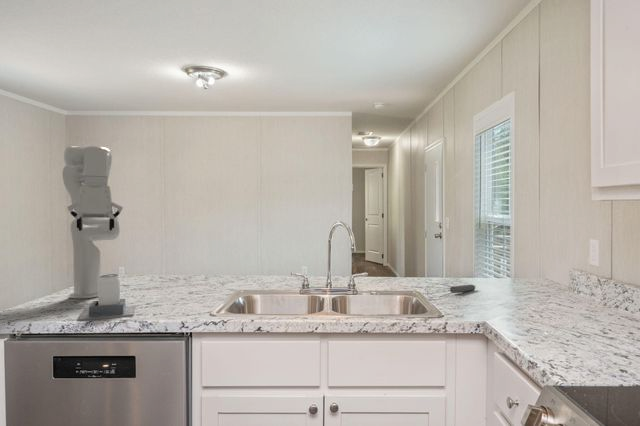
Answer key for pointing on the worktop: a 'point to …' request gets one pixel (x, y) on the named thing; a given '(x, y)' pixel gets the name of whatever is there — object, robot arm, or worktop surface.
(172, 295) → the worktop surface
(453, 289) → the kitchen whisk
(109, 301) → the can
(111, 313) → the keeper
